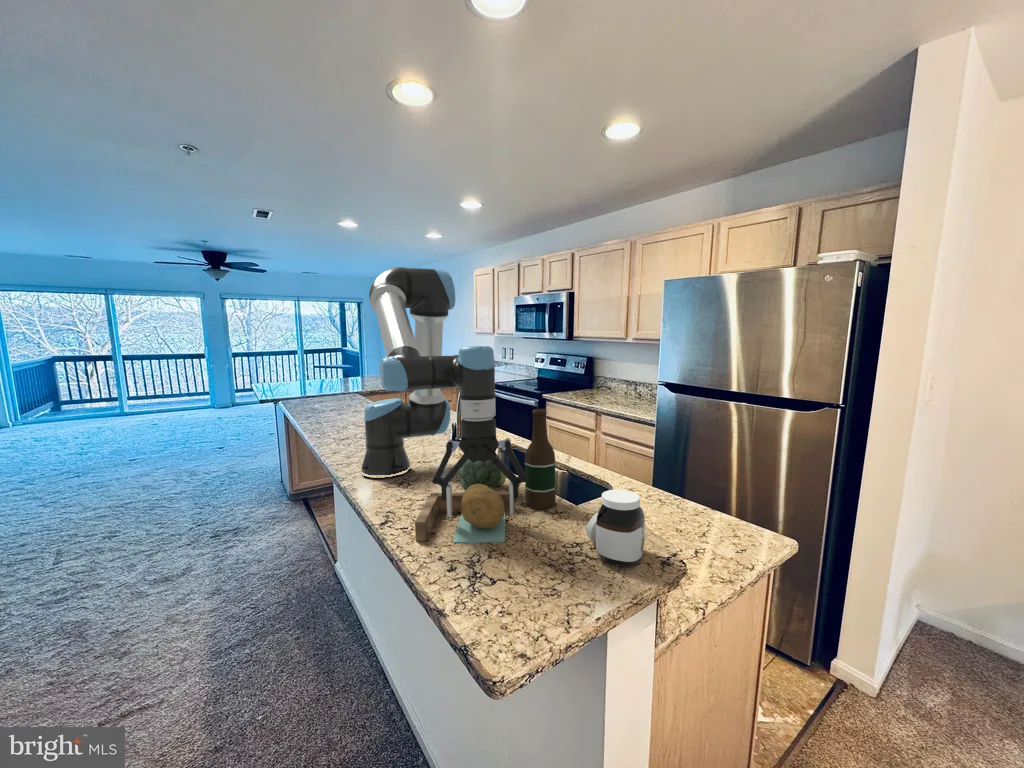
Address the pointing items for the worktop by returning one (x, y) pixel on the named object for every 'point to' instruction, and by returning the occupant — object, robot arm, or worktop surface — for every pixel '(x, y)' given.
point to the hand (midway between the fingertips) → (480, 513)
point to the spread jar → (619, 528)
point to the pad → (478, 532)
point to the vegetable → (480, 474)
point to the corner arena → (438, 505)
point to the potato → (482, 506)
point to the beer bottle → (540, 466)
